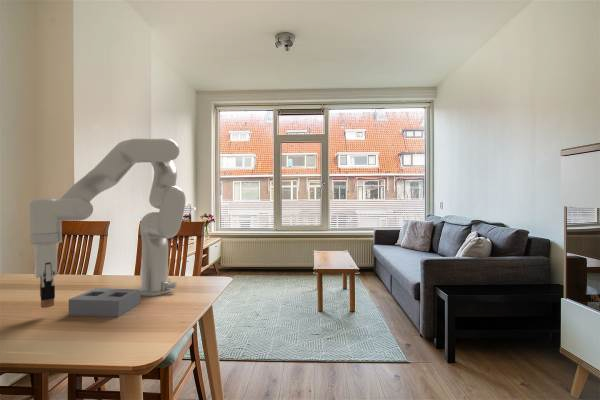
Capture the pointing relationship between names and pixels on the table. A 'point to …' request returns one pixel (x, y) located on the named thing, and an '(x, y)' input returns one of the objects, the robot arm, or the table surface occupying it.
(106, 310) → the bore block
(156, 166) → the robot arm
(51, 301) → the dowel
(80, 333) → the table surface
